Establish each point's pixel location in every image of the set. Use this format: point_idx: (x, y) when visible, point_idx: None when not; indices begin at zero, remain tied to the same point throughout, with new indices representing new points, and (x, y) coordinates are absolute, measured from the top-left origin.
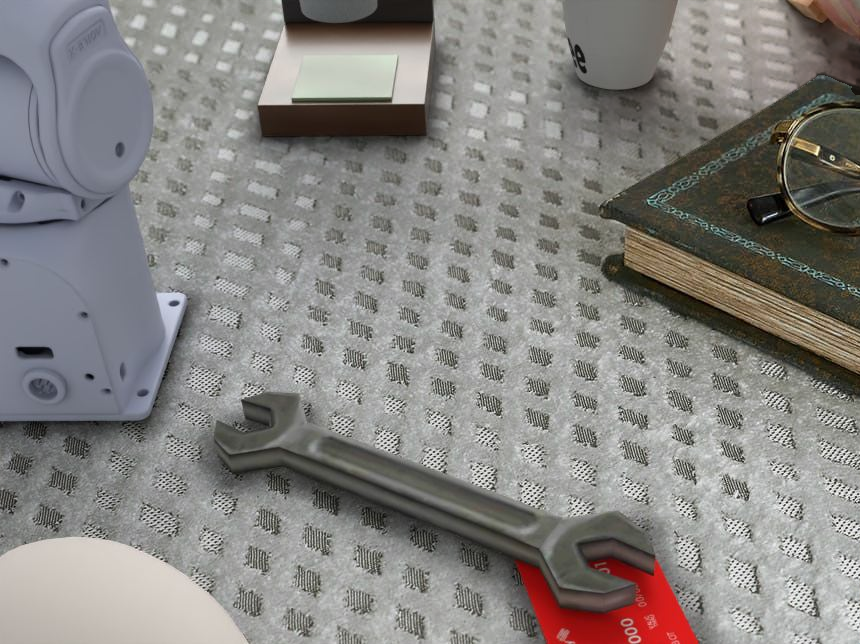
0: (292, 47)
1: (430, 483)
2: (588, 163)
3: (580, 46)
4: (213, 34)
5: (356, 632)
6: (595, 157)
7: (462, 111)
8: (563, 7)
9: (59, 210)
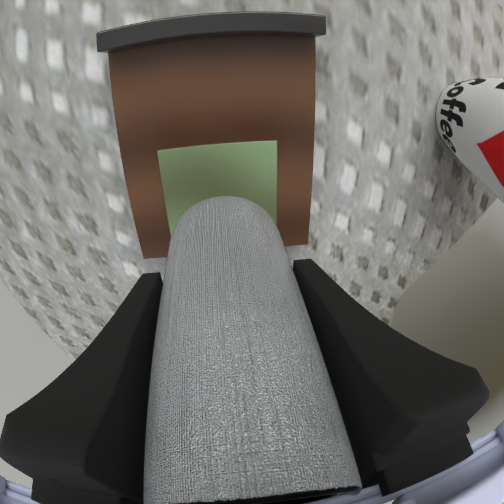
0: (135, 120)
1: None
2: (408, 257)
3: (456, 153)
4: (31, 31)
5: None
6: (414, 249)
7: (333, 181)
8: (468, 137)
9: None
